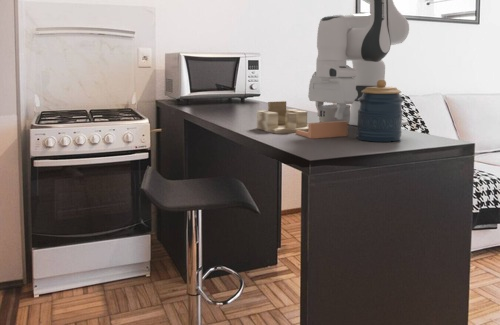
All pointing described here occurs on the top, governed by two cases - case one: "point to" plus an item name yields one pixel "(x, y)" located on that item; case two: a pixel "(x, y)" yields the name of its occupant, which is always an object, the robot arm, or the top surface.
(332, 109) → the teacup
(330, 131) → the orange angled block
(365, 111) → the canister
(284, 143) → the top surface
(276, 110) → the wooden block stack
